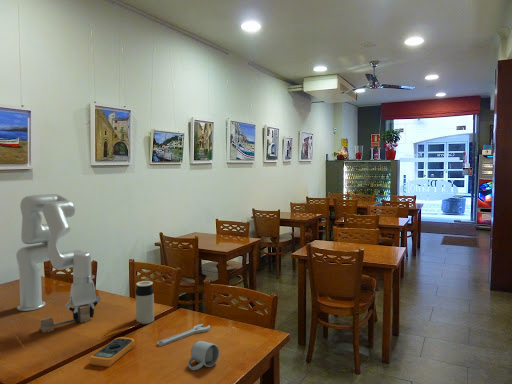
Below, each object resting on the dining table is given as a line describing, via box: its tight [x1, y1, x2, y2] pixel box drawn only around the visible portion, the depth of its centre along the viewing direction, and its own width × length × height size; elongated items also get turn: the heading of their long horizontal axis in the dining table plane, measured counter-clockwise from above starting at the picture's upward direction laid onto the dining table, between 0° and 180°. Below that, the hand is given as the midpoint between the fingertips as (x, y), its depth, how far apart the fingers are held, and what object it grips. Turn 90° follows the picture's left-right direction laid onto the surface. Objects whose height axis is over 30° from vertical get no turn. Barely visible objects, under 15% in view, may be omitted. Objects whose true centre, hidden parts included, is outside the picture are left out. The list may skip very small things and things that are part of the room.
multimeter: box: [89, 336, 135, 368], centre depth 146 cm, size 9×18×3 cm, turn 166°
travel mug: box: [135, 280, 155, 325], centre depth 178 cm, size 8×8×18 cm
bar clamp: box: [39, 316, 76, 334], centre depth 172 cm, size 6×22×5 cm, turn 133°
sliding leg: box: [77, 304, 91, 324], centre depth 176 cm, size 5×4×7 cm
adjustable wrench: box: [156, 323, 211, 347], centre depth 163 cm, size 25×6×2 cm, turn 130°
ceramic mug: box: [187, 340, 220, 371], centre depth 138 cm, size 11×8×8 cm
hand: (83, 318), depth 176 cm, fingers open, 6 cm apart
